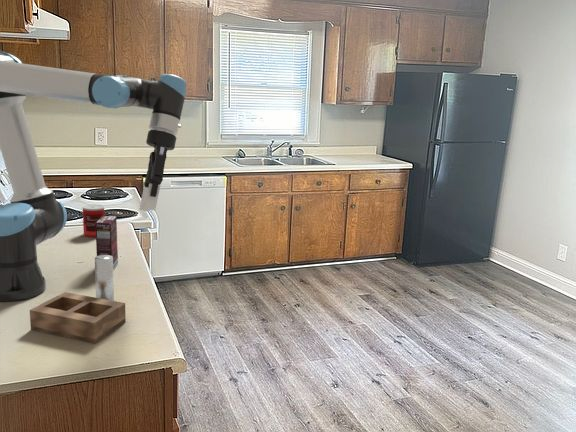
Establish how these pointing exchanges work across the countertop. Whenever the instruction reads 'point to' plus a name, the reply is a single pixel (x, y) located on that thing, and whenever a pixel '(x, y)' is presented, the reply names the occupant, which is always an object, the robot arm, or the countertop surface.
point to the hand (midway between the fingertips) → (146, 210)
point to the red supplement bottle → (91, 218)
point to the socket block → (78, 317)
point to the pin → (104, 277)
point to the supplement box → (107, 237)
